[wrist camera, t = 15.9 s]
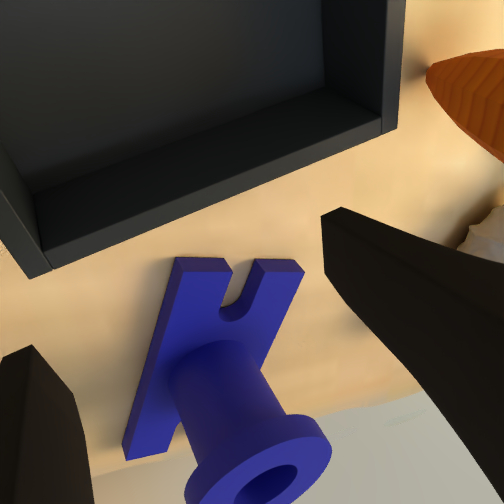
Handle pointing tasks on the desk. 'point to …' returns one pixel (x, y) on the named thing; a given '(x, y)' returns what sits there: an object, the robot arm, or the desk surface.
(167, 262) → the desk surface
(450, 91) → the carrot
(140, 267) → the desk surface
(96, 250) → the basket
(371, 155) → the desk surface
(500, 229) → the seahorse
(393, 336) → the robot arm
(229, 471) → the mount
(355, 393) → the desk surface
